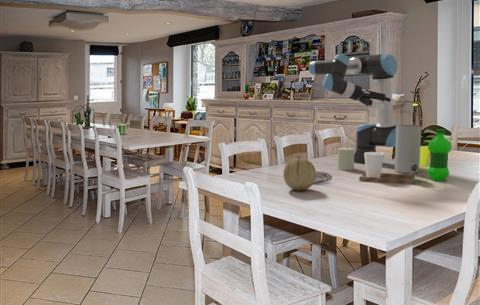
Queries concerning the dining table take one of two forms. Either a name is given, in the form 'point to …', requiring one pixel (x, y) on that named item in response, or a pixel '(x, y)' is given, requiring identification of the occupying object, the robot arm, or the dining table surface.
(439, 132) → the plastic bottle
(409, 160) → the cylinder vase
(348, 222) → the dining table surface
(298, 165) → the cantaloupe
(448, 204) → the dining table surface
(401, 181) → the wooden tray
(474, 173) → the dining table surface
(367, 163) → the foam cup
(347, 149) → the can
